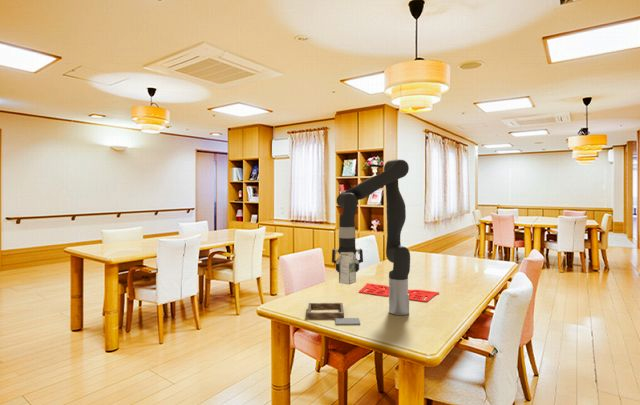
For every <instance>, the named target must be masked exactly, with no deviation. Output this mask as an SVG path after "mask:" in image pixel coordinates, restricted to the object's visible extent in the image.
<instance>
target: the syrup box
mask: <svg viewBox="0 0 640 405" xmlns="http://www.w3.org/2000/svg"><path fill="white" fill-rule="evenodd" d="M341 255H342V259H341V261H340V262H339V272H338V284H343V285H348V286H349V285H351V284H354V283H356V282H357V272H356V262H355V260H354V259H353V255H354V253H353V252H352V253H350V252H341V254H339V253H338V257H340V256H341ZM354 256H355V257H356V258H357V252H356V253H355V255H354Z"/></svg>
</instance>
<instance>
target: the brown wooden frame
mask: <svg viewBox="0 0 640 405" xmlns="http://www.w3.org/2000/svg"><path fill="white" fill-rule="evenodd" d="M343 304H344V303H343V302H308V306H307V319H335V318H345V309H344V305H343ZM313 308H321V309H340V311H331V312H329V311H328V312H326V311H325V312H318V311H317V312H315V311H314V312H312V309H313Z"/></svg>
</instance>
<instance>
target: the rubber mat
mask: <svg viewBox="0 0 640 405" xmlns="http://www.w3.org/2000/svg"><path fill="white" fill-rule="evenodd" d="M334 319H335V325H336V326H343V325H344V326H357V325H358V326H359V325H361V321H360V318H359V317H344V318H334Z"/></svg>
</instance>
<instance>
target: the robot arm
mask: <svg viewBox="0 0 640 405" xmlns="http://www.w3.org/2000/svg"><path fill="white" fill-rule="evenodd" d="M409 169H410V168H409V164H408V162H407V161H406V160H405V159H402V158H399V159H390V160H388V161H386V162H385V164H384V166H383V171H382V172H381V173H378V174H376V175H373V176H371V177H369V178H367V179H366V178H365V180H363V181H361V182H360V183H358V184H357V185H355V186H354V187H352V188H351V187H350V188H349V189H347V190H345V191H342V192H341V193H339V195H338V196H337V197H336V204H337V205H338V207H340V208H342V209H343V210H342V213H341V214H340V215H339V220H338V221H339V222H338V224H339V226H338V249H335V248H332V250H331V251H332V252H331V263H332V264H334V265H335V271H336V272H337V273H339V262H340V261H341V259H342V255H341V256H340V257H339V256H338V257H337V259H335V258H336V255H337V253H338V255H339V254H341V252H350V253H352V252H353V253H354V255H355V253H356V254H358V255H359V259H358V258H357V256H356V257H355V256H354V255H353V259H354V260H355V262H356V273H358V271H360V264H361V263H364V256H363V249H362V248H359V249H358V248H356V226H355V224H356V221H355V217H356V214H357V209H358V201H360V200H364V199H366V198H367V197H369V196H370V195H372V194H373V193H375V192H376V191H379V190H380V189H382V188H383V187H385V199H386V202H385V203H386V205H385V206H386V235H387V236H386V246H385V247H386V248H385V257H386V259H387V260H388V261H389V262H390V263H393V264H392V266H393V267H392V270H390V271H389V272H388V287H389V297H388V313H389V314H392V315H394V316H405V315H410V300H409V294H408V290H409V274H410V272H411V269H410V268H411V253H410V250H409V249H408V248H407V247H406V246H403V245H401V236H402V235H401V234H402V230H403V227H404V225H405V222H406V219H407V218H406V217H407V216H406V214H407V213H406V203H405V200H404V197H403V196H402V193H401V192H400V188H399V180H400V179H403V178H405V177H406V176H407V174H408V173H409Z"/></svg>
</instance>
